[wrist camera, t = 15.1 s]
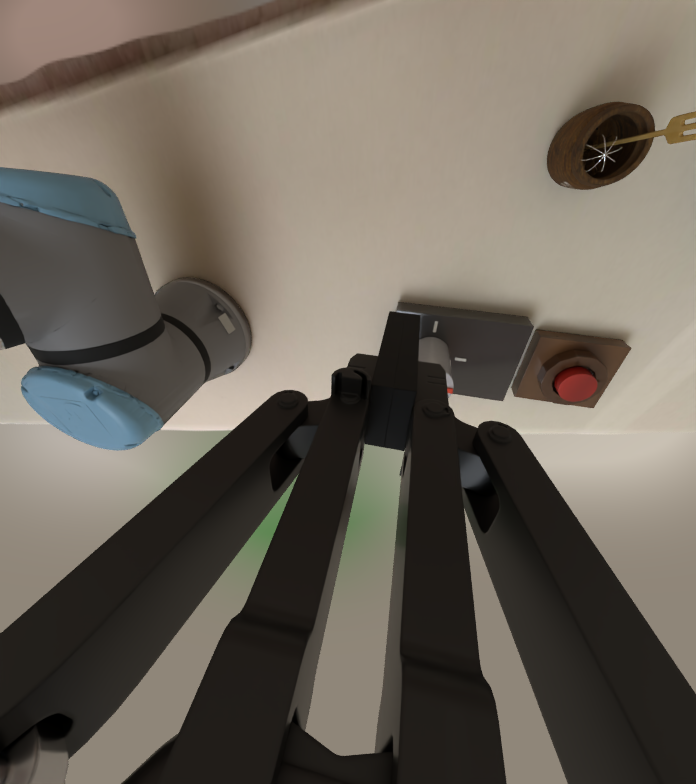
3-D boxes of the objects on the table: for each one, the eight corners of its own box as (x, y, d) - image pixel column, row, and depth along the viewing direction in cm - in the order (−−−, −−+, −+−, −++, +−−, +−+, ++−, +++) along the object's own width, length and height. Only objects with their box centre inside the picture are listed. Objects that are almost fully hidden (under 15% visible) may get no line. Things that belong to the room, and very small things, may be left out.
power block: (511, 387, 46) (517, 404, 43) (535, 329, 41) (545, 343, 37) (586, 398, 44) (599, 417, 41) (622, 339, 39) (639, 355, 36)
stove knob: (406, 369, 44) (402, 403, 38) (412, 334, 41) (409, 365, 35) (444, 374, 43) (447, 410, 37) (454, 339, 40) (459, 372, 34)
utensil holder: (543, 126, 30) (597, 108, 20) (625, 93, 28) (730, 56, 18) (544, 196, 33) (593, 210, 23) (619, 172, 31) (707, 175, 21)
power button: (548, 391, 41) (552, 399, 40) (562, 364, 39) (567, 371, 37) (582, 395, 41) (587, 404, 39) (598, 368, 38) (604, 376, 37)
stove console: (388, 372, 48) (386, 384, 46) (398, 301, 42) (396, 310, 39) (499, 389, 46) (503, 402, 44) (527, 316, 40) (534, 327, 37)
